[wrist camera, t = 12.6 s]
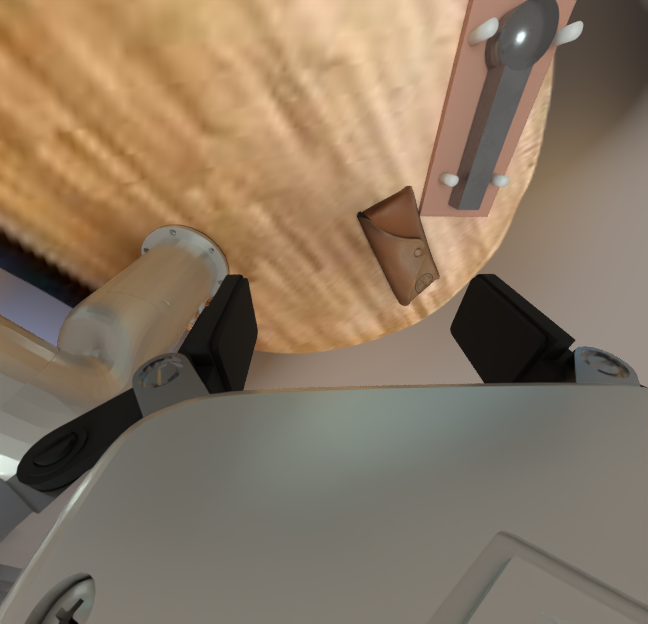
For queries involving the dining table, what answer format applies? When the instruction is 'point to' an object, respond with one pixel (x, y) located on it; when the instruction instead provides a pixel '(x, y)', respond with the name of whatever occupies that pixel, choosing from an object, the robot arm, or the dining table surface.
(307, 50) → the dining table surface
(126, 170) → the dining table surface
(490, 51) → the grey spoon
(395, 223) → the sunglasses case
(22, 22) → the dining table surface
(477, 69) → the peg rack
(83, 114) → the dining table surface
